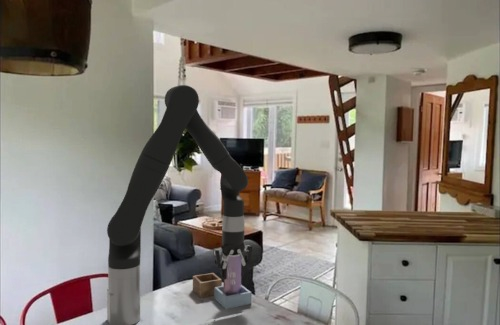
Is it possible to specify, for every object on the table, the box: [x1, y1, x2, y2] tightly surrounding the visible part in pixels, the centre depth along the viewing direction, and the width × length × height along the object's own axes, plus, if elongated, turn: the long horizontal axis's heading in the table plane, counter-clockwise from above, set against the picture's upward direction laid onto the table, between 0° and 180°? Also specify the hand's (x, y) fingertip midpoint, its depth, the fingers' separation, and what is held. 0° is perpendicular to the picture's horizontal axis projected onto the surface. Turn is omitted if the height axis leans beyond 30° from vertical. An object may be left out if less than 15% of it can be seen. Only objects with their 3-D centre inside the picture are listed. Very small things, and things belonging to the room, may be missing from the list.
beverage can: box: [223, 254, 242, 296], centre depth 128 cm, size 6×6×15 cm
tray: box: [213, 284, 253, 310], centre depth 128 cm, size 10×10×5 cm
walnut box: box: [192, 272, 223, 299], centre depth 136 cm, size 8×8×6 cm
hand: (232, 277), depth 128 cm, fingers closed on beverage can, 6 cm apart
